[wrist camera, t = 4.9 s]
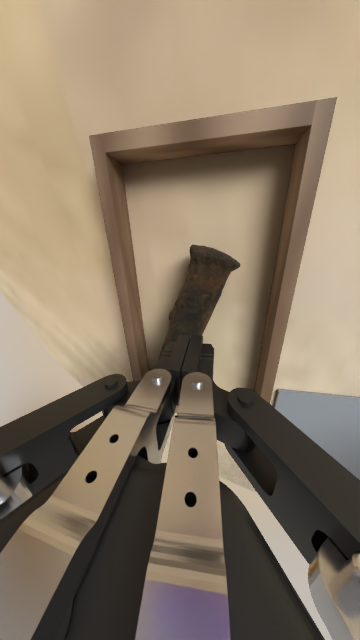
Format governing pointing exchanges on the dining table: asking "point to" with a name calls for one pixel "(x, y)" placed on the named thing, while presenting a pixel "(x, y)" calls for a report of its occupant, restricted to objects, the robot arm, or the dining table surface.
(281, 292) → the wooden frame
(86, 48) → the dining table surface
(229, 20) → the dining table surface
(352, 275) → the dining table surface
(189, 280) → the hand tool
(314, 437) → the mat
